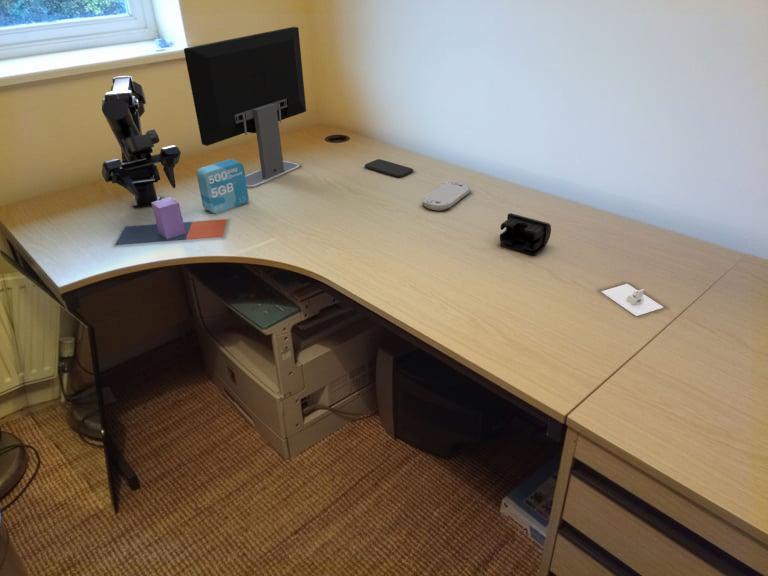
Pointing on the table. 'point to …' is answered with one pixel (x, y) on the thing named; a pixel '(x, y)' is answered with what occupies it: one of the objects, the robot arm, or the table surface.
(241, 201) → the data package
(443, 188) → the game console
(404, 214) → the table surface
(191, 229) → the mat
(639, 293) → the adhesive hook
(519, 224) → the end cap
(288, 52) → the computer monitor
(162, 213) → the block
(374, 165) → the phone
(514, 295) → the table surface
